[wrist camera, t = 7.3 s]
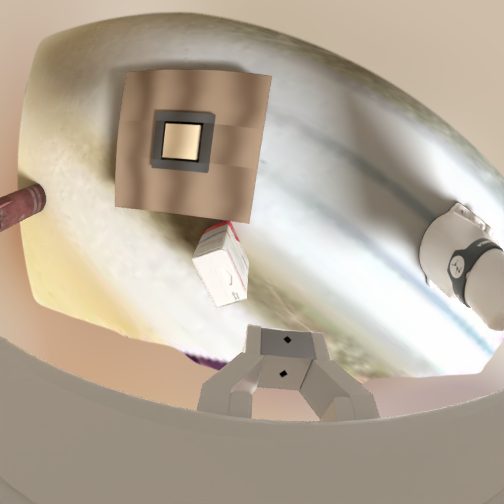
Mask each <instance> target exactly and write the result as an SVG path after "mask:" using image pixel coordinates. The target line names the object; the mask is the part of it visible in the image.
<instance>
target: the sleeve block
mask: <svg viewBox="0 0 504 504" xmlns="http://www.w3.org/2000/svg"><path fill="white" fill-rule="evenodd" d="M271 79H272V76H268V75H261V74H253V73H244V72H233V71H220V70H196V69H171V70H147V71H134V72H126V78H125V83H124V89H123V96H122V103H121V110H120V119H119V128H118V139H117V152H116V171H115V207H122V208H131V209H140V210H149V211H157V212H166V213H174V214H182V215H190V216H197V217H205V218H212V219H219V220H227V221H234V222H241V223H248V224H249V222H250V215H251V209H252V202H253V195H254V189H255V182H256V175H257V169H258V162H259V156H260V149H261V143H262V136H263V130H264V123H265V117H266V110H267V104H268V98H269V91H270V85H271ZM166 124H194V125H203V132H202V139H201V148H200V156H199V159H196V160H193V159H181V158H168V157H162V156H163V146H164V136H165V128H166Z"/></svg>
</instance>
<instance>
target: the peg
mask: <svg viewBox="0 0 504 504" xmlns="http://www.w3.org/2000/svg"><path fill="white" fill-rule="evenodd" d="M202 132H203V126H200V125H185V124H166V128H165V136H164V146H163V156H162V157H168V158H181V159H193V160H196V159H199V156H200V148H201V139H202Z"/></svg>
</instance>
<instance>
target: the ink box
mask: <svg viewBox="0 0 504 504" xmlns="http://www.w3.org/2000/svg"><path fill="white" fill-rule="evenodd" d="M191 260H192V262H193V264H194V266H195V268H196V270H197V272H198V274H199V276H200V278H201V280H202V282H203V284H204V286H205V288H206V289H207V291H208V293H209V295H210V297H211V299H212V301H213V303H214V305H215V306H216V307H222V306H226V305H230V304H234V303H237V302H240V301H244V300H246V299H247V281H248V266H249V261H248V259H247V256H246V254H245V252H244V250H243V248H242V246H241V244H240V241H239V239H238V237H237V235H236V233H235V231H234V228H233V226H232V224H231V222H230V221H227V220H226V221H223V222H221V223H218V224H216V225H213V226H211V227H209V228H207V229H206V230H205V231H204V233H203V235H202V237H201V239H200V241H199V243H198V245H197V247H196V249H195V252H194V254H193V256H192V258H191Z"/></svg>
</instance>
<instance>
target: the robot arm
mask: <svg viewBox="0 0 504 504" xmlns="http://www.w3.org/2000/svg"><path fill="white" fill-rule="evenodd" d="M461 211H462V212H461ZM419 259H420V264H421V267H422V269H423V271H424V272H425V274H426V276H427V284H428V286H429V287H430V288H432V289H434V288H439V289H440V290H442V291H443V292H444V293H445V294H446V295H447V296H448V297H450V298H453V297H454V298H456V297H458V299H459V300H460V301H461V302H462V303H463V304H465V305H466V306H467V307H469V308H472V309H473V310H474V312H475V313H476V314H477V315H478V316H479V317H480V318H481V319H482V320H483V322H484V323H485V324H486V325H487V326H488V327H489V328H490V329H492V330H496V331H503V330H504V252H503V250H502V249H501V248H500V246H499V244H498V243H497V242H496V241H495V240H494V239H493V228H491V227H490V226H488V225H487V224H485V223H484V222H483V221H482V220H481V219H479V218H478V217H477V216H476V215H474V214H473V213H472V212H471V211H469V210H468V209H467V208H466V207H464V206H463V205H462V204H460V203H456V204H455V205H454V206H453V207H452V208H451V209H450V210H449V211H448V212H447V213H445V214H443V215H441V216H439V217H438V218H437V219H436V220H434V221H433V222H432V224H431V225H430V226H429V227H428V229H427V231H426V232H425V234H424V237H423V239H422V242H421V246H420V252H419ZM257 387H263V388H264V387H265V388H278V389H288V390H289V389H290V390H300V391H299V392H300V393H301V394H302V396H303V397H304V399H305V400H306V401H307V402H308V404H309V405H310V407H311V408H312V409H313V410H314V412H315V413H316V414H317V416H318V417H319V418H320V421H319V422H304V421H302V422H301V421H277V420H264V419H252V418H251V414H252V395H251V394H252V393H253V392H254V390H255V389H256V388H257ZM0 504H504V389H502V390H500V391H497V392H494V393H491V394H488V395H486V396H483V397H479V398H476V399H473V400H469V401H466V402H462V403H459V404H455V405H451V406H447V407H443V408H438V409H434V410H429V411H424V412H418V413H413V414H406V415H400V416H393V417H385V418H380V416H379V413H378V409H377V407H376V403H375V400H374V397H373V395H372V394H371V393H370V392H369V391H368V390H367V389H365V388H364V387H363V386H362V385H361V384H360V383H359V382H357V381H356V380H355V379H354V378H353V377H352V376H351V375H349V374H348V373H347V372H346V371H345V370H344V369H343V368H342V367H340V366H339V365H338V364H337V363H336V362H335V361H332V360H330V357H329V353H328V349H327V345H326V342H325V338H324V334H323V333H322V332H305V331H294V330H286V329H278V328H271V327H264V326H257V325H250V324H248V326H247V331H246V336H245V342H244V347H243V352H241V353H240V354H239V355H238V356H236V357H235V358H234V359H233V360H232V361H230V362H229V363H228V364H227V365H226V366H224V367H223V368H222V369H221V370H220V371H218V372H217V373H216V374H215V375H214V376H212V377H211V378H210V379H209V380H207V381H206V382H205V383H204V384H203V386H202V390H201V394H200V398H199V403H198V407H197V410H191V409H187V408H182V407H177V406H173V405H168V404H164V403H160V402H156V401H152V400H149V399H145V398H141V397H138V396H135V395H131V394H128V393H125V392H121V391H119V390H115V389H112V388H110V387H107V386H104V385H101V384H98V383H96V382H93V381H90V380H88V379H85V378H83V377H80V376H77V375H75V374H73V373H71V372H68V371H66V370H64V369H62V368H59V367H57V366H55V365H52V364H50V363H48V362H47V361H44V360H42V359H40V358H38V357H37V356H35V355H33V354H31V353H29V352H27V351H25V350H23V349H22V348H20V347H18V346H16V345H14V344H13V343H11V342H10V341H8V340H7V339H5V338H3V337H0Z"/></svg>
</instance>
